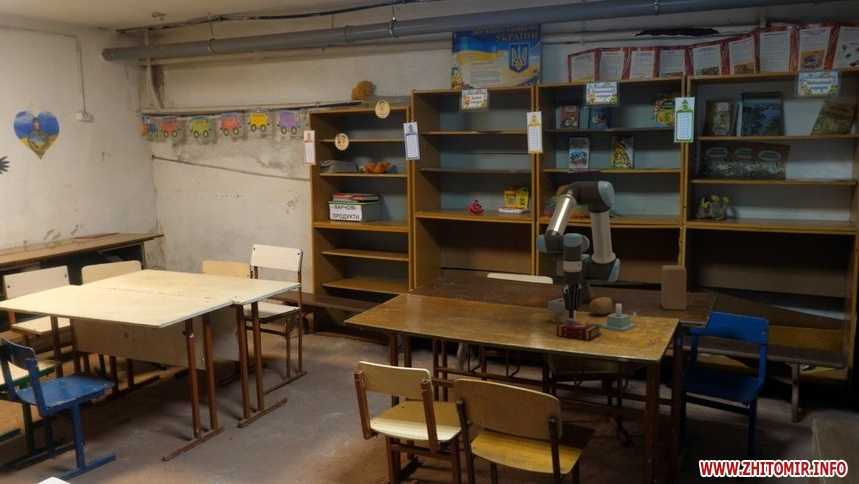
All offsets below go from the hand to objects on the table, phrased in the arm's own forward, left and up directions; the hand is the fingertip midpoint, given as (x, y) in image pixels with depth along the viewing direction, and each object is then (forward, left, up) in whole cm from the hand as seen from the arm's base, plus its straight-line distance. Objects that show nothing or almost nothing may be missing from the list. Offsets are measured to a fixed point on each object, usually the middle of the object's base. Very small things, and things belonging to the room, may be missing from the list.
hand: (572, 325), depth 280 cm
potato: (-6, +33, -2) cm, 33 cm away
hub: (+12, +17, -2) cm, 21 cm away
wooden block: (+13, +66, -2) cm, 67 cm away
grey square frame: (-12, +11, +3) cm, 16 cm away
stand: (-12, +11, -2) cm, 16 cm away
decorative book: (+6, -6, -3) cm, 9 cm away
